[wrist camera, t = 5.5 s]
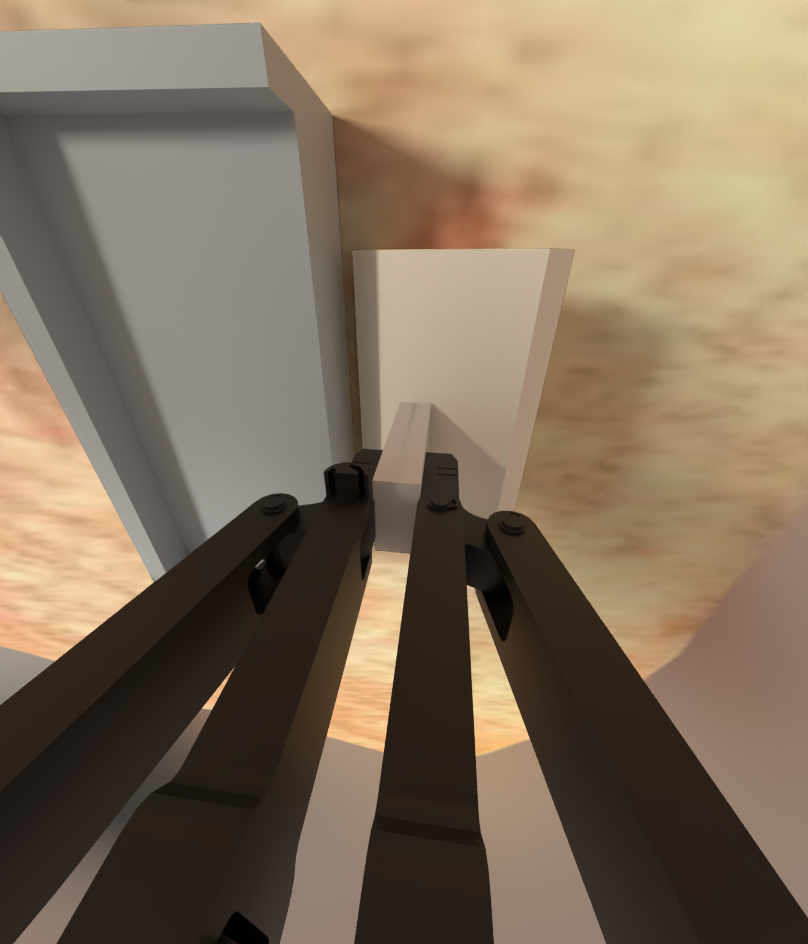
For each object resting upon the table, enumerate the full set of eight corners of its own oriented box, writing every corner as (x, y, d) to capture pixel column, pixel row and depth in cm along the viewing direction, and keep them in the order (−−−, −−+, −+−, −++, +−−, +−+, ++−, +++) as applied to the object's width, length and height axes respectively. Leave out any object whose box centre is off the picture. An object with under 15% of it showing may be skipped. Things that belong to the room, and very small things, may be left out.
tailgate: (364, 488, 24) (481, 594, 17) (351, 249, 17) (549, 248, 9) (379, 482, 25) (498, 582, 17) (373, 250, 18) (575, 249, 10)
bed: (216, 520, 29) (157, 588, 23) (79, 117, 16) (-134, 36, 10) (359, 531, 28) (336, 606, 22) (332, 114, 15) (259, 22, 9)
